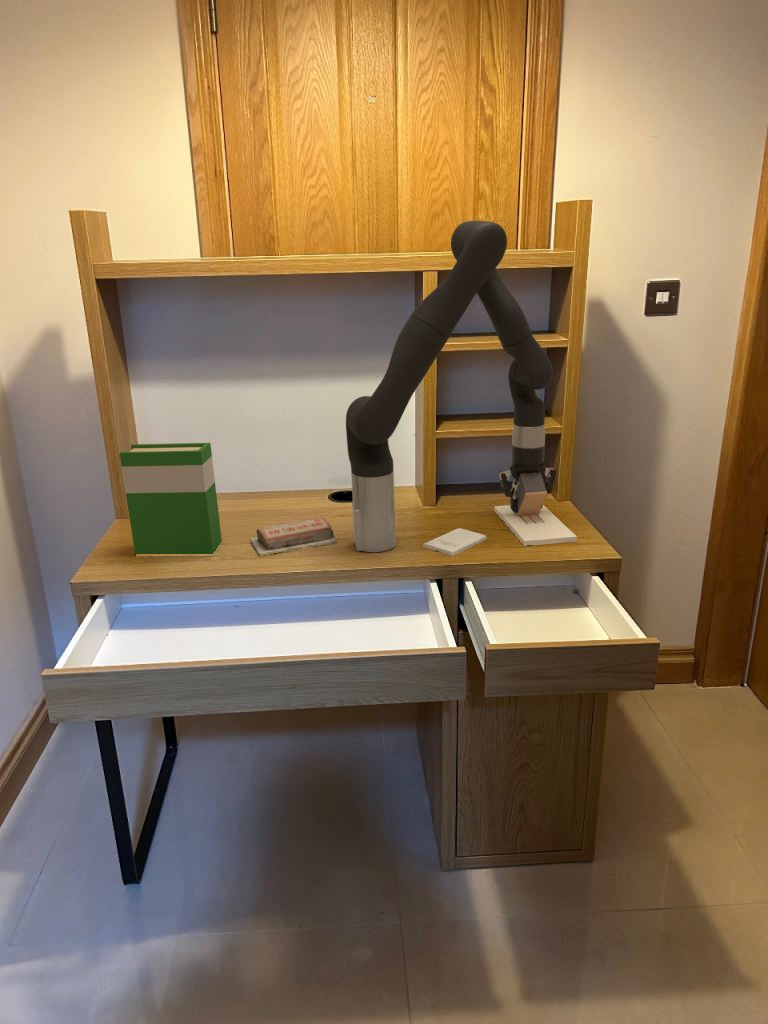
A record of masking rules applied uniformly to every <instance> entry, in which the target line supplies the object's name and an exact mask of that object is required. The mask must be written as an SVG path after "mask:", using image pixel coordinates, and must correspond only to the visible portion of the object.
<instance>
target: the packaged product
mask: <svg viewBox="0 0 768 1024" xmlns="http://www.w3.org/2000/svg"><path fill="white" fill-rule="evenodd" d="M334 533H335V532H334V530H333V527H332V525H331V523H330V522H329V521H328V520H327V519H326V518H325V517H319V518H318V517H317V518H311V519H305V520H298V521H297V520H296V521H290V522H286V523H279V524H272V525H267V526H261V527H258V528H256V536H251V537H249V538H250V543H251V545H252V544H253V545H254V546H253V545H252V546H253V548H254V547H255V548H254V550H255V549H256V550H255V551H257V552H258V554H259V555H265V554H273V553H277V554H280V553H279V552H285V551H291V550H297V549H302V548H307V547H313V546H319V547H322V546H321V545H324V546H328V544H330V545H336V544H337V543H338V541H337V539H336V538H335V537H334ZM335 543H336V544H335ZM313 548H314V547H313ZM297 551H298V550H297ZM257 552H256V553H257ZM291 552H292V551H291ZM285 553H286V552H285ZM258 554H257V555H258ZM259 555H258V556H259ZM273 555H274V554H273Z"/></svg>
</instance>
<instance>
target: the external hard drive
mask: <svg viewBox="0 0 768 1024" xmlns="http://www.w3.org/2000/svg"><path fill="white" fill-rule="evenodd" d="M484 540H485V541H486V540H487V536H486V535H485V534H482V533H479V532H475V531H471V530H467V529H465V528H461V527H458V528H456V529H454V530H451V531H449V532H447V533H444V534H442V535H441V536H438V537H436V538H434V539H431V540H429V541H428V542H427V541H426V542H425V543H423V545H422V546H423V548H424V549H428V550H431V551H434V552H439V553H440V554H444V555H446V554H447V556H450V557H453V556H455V555H458V554H460V553H462V552H464V551H466V550H467V549H470V548H472V547H474V546H476V545H479V544H480V543H483V542H484ZM482 541H483V542H482Z"/></svg>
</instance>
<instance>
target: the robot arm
mask: <svg viewBox="0 0 768 1024" xmlns="http://www.w3.org/2000/svg"><path fill="white" fill-rule="evenodd" d="M507 246H508V237H507V233H506V231H505V229H504V228H503V226H502V225H500V224H499V223H496V222H493V221H487V220H467V221H463V222H461V223H459V224H458V226H456V228H455V229H454V230H453V233H452V236H451V238H450V249H451V253H452V254H453V257H454V258H455V260H456V261H455V264H454V265H453V268H452V269H451V270H450V272H449V274H448V275H447V276H446V278H445V279H443V281H442V282H441V283H440V284H438V286H437V287H436V288H435V289H433V291H431V293H429V294H428V295H426V297H425V298H424V299H423V300H422V301H421V302H420V303H419V304H418V305H417V306H416V307H415V309H414V310H413V311H412V312H411V314H410V315H409V317H408V319H407V320H406V322H405V324H404V325H403V327H402V329H401V331H400V332H399V334H398V337H397V339H396V341H395V344H394V347H393V350H392V352H391V356H390V360H389V364H388V367H387V369H386V372H385V374H384V375H383V378H382V379H381V381H380V383H379V384H378V386H377V387H376V389H375V390H374V392H373V393H372V395H370V396H369V395H364V396H360V397H357V398H356V399H354V400H353V401H352V402H351V403H350V404H349V406H348V408H347V411H346V414H345V433H346V443H347V444H346V445H347V454H348V455H347V456H348V459H349V464H350V471H351V474H350V475H351V488H352V489H351V490H352V491H351V493H352V503H351V506H352V509H351V510H352V511H351V512H352V513H351V514H352V529H353V530H352V532H353V542H354V547H355V549H356V552H366V553H381V552H387V551H389V550H392V549H393V548H395V547H396V546H397V534H396V531H397V529H396V506H395V505H396V504H395V503H396V501H395V475H394V473H395V472H394V458H393V455H392V454H391V449H390V445H389V438H391V437H392V436H393V434H394V433H395V431H396V429H397V427H398V426H399V425H398V424H400V423H399V422H400V421H401V419H402V416H403V414H404V412H405V410H406V408H407V406H408V405H409V403H410V400H411V398H412V396H413V395H414V393H415V392H416V390H417V388H418V387H419V385H420V384H421V382H422V381H423V379H425V378H424V377H425V376H426V375H427V373H428V371H429V370H430V368H431V367H432V365H433V364H434V362H435V361H436V359H437V357H438V356H439V355H440V353H441V352H442V350H443V348H444V347H445V345H446V344H447V342H448V340H449V339H450V337H451V335H452V333H453V331H454V330H455V328H456V327H457V326H458V323H459V322H460V320H461V318H462V317H463V316H464V314H465V312H466V310H468V307H469V306H470V304H471V303H472V300H473V299H474V298H475V296H476V295H477V296H478V298H479V299H480V301H481V303H482V306H483V307H484V309H485V311H486V313H487V315H488V318H489V319H490V321H491V324H492V326H493V329H494V331H495V334H496V335H497V338H498V339H499V340H498V341H499V342H500V344H501V345H500V346H501V347H502V349H503V350H504V351H503V352H505V353H506V354H507V355H508V356H510V357H512V358H513V360H512V361H511V363H510V365H509V367H508V368H509V369H508V373H507V374H508V378H507V379H508V384H509V385H508V386H509V390H510V394H511V399H512V404H513V427H512V433H511V434H512V435H511V437H512V438H511V443H512V444H511V449H512V450H511V465H510V467H509V470H505V471H502V470H500V471H499V472H498V473H497V474H498V476H499V482H500V487H501V490H502V494H503V495H505V497H507V498H509V499H510V500H509V501H510V503H509V505H510V508H511V510H512V511H513V512H514V513H518V499H517V497H518V490H519V482H518V479H519V476H520V474H526V473H539V472H541V475H542V476H543V475H545V480H544V484H545V488H546V491H547V495H550V494H552V491H553V487H554V484H555V480H556V476H557V474H558V473H557V470H556V469H555V468H554V467H545V451H546V450H545V449H546V448H545V446H546V445H545V444H546V443H545V442H546V429H545V427H546V426H545V419H546V418H545V417H546V416H545V415H546V413H545V412H546V405H545V402H544V400H543V399H541V398H540V397H539V396H538V395H537V393H536V390H537V391H538V390H543V389H545V388H547V387H549V385H550V384H551V383H552V380H553V375H554V369H553V364H552V362H551V360H550V358H549V356H548V355H547V354H546V352H545V350H544V349H543V348H542V347H541V345H540V343H539V342H538V341H537V340H536V339H535V337H534V335H533V332H532V330H531V327H530V325H529V322H528V321H527V318H526V315H525V313H524V311H523V308H521V306H520V304H519V303H518V301H517V300H516V299H515V297H514V296H513V294H512V292H510V290H509V289H508V287H507V286H506V284H505V282H504V281H503V279H502V278H501V276H500V275H499V272H498V271H497V267H498V266H499V264H500V263H501V262H502V260H503V258H504V256H505V255H506V250H507ZM510 476H512V477H513V479H514V480H513V482H512V485H511V490H510V487H509V482H508V481H509V480H510ZM517 482H518V484H517ZM516 484H517V485H516ZM543 505H544V504H543ZM543 505H542V507H543ZM542 507H541V509H542Z"/></svg>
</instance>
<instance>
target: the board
mask: <svg viewBox="0 0 768 1024" xmlns="http://www.w3.org/2000/svg"><path fill="white" fill-rule="evenodd" d="M493 508H494V509H493V510H494V513H496V515H497V514H498V515H499V516H498V515H497V516H498V517H499V518H500V519H501V521H502V520H503V521H504V522H505V523H504V522H503V521H502V522H503V523H504V524H505V526H506V527H509V528H508V529H509V530H510V532H512V533H513V535H514V534H515V535H514V536H515V537H516V538H517V540H520V541H519V542H520V543H521V544H522V545H523V547H528V546H527V545H532V546H541V545H553V544H564V543H575V542H576V543H577V542H578V541H577V539H578V536H577V535H576V534H575V533H574V532H573V531H571V529H570V528H568V527H567V526H566V525H565V524H564V523H563V521H561V520H560V519H559V518H558V517H556V516H555V514H554V513H552V512H551V511H550V509H548V508H547V507H546V506H545V505H544V504H543V507H542V509H540V512H539V514H538V515H527V516H518V514H517V513H514V512H513V511H512V510H511V508H510V504H509V505H508V504H507V505H497V506H496V505H495V506H493Z"/></svg>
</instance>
